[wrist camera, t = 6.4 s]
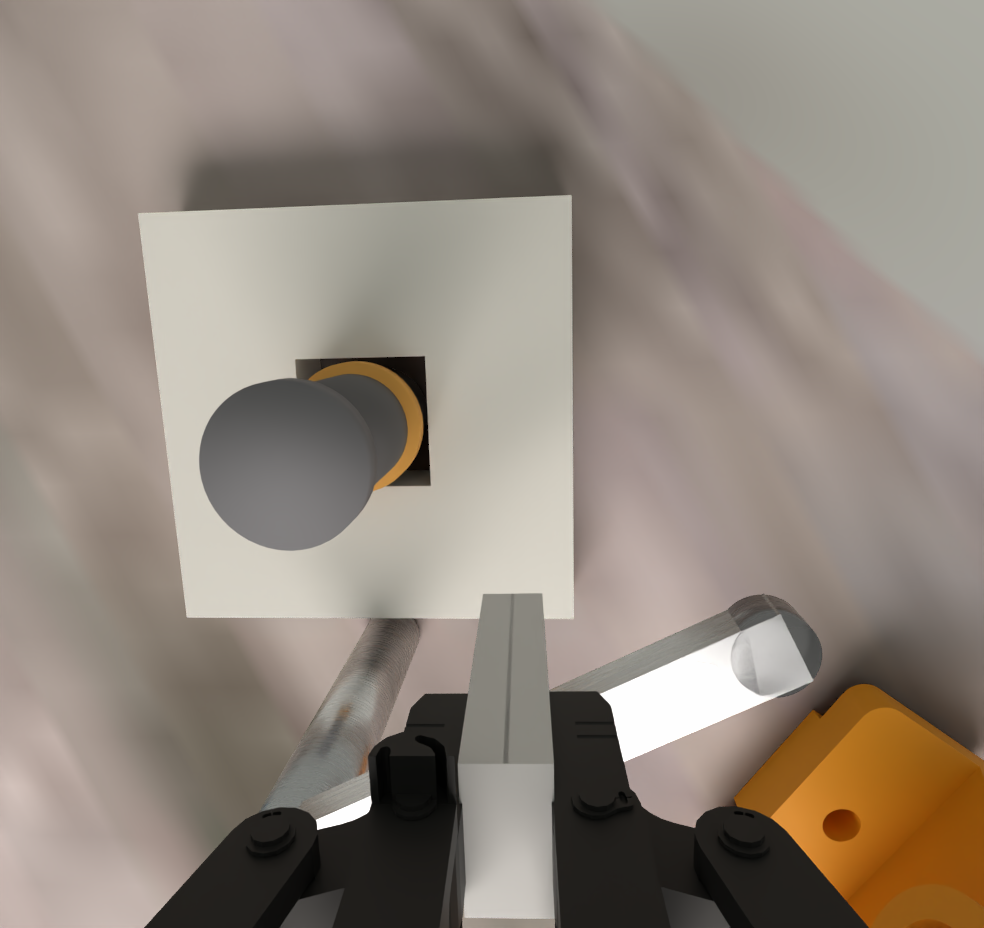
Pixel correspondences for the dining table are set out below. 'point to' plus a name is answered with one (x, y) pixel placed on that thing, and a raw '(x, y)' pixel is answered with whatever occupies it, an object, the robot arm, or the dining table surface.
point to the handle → (622, 683)
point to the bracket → (882, 811)
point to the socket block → (380, 333)
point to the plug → (309, 451)
